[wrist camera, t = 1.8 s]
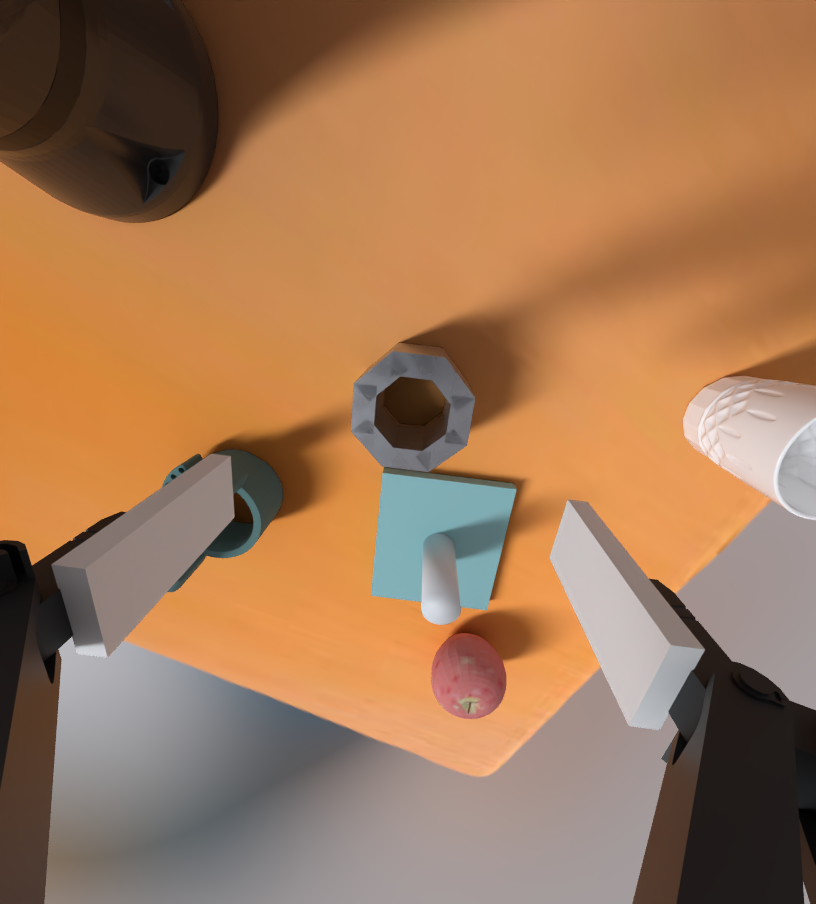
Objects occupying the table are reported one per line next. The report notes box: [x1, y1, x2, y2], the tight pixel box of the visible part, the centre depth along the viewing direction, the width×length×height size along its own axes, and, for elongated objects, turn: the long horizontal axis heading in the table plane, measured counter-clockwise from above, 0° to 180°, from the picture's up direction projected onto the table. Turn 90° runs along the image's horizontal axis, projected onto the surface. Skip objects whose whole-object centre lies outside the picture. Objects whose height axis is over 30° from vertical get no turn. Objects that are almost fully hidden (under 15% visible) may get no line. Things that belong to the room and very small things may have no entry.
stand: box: [371, 467, 517, 625], centre depth 33 cm, size 14×12×9 cm
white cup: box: [683, 375, 816, 520], centre depth 27 cm, size 8×8×10 cm
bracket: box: [162, 449, 283, 592], centre depth 32 cm, size 9×9×9 cm
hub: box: [351, 342, 476, 472], centre depth 29 cm, size 8×8×6 cm
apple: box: [431, 633, 506, 719], centre depth 38 cm, size 7×7×8 cm
